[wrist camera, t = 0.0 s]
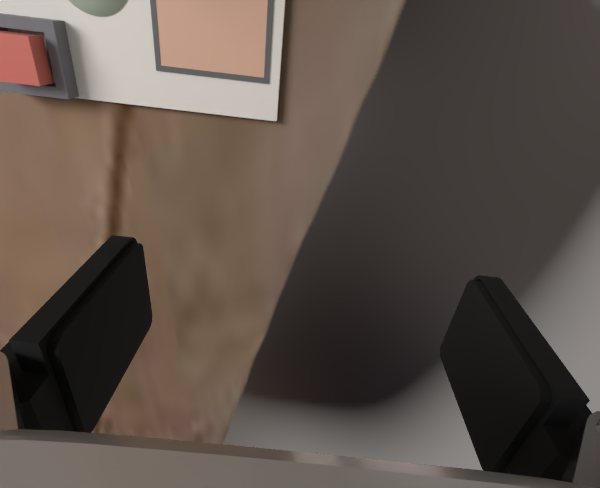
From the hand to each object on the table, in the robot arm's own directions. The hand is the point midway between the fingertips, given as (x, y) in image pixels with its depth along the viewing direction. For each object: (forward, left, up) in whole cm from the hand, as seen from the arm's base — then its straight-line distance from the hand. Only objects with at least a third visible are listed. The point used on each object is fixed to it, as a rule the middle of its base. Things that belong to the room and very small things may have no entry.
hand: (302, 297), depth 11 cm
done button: (-1, -27, -29) cm, 40 cm away
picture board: (-6, -17, -31) cm, 36 cm away
